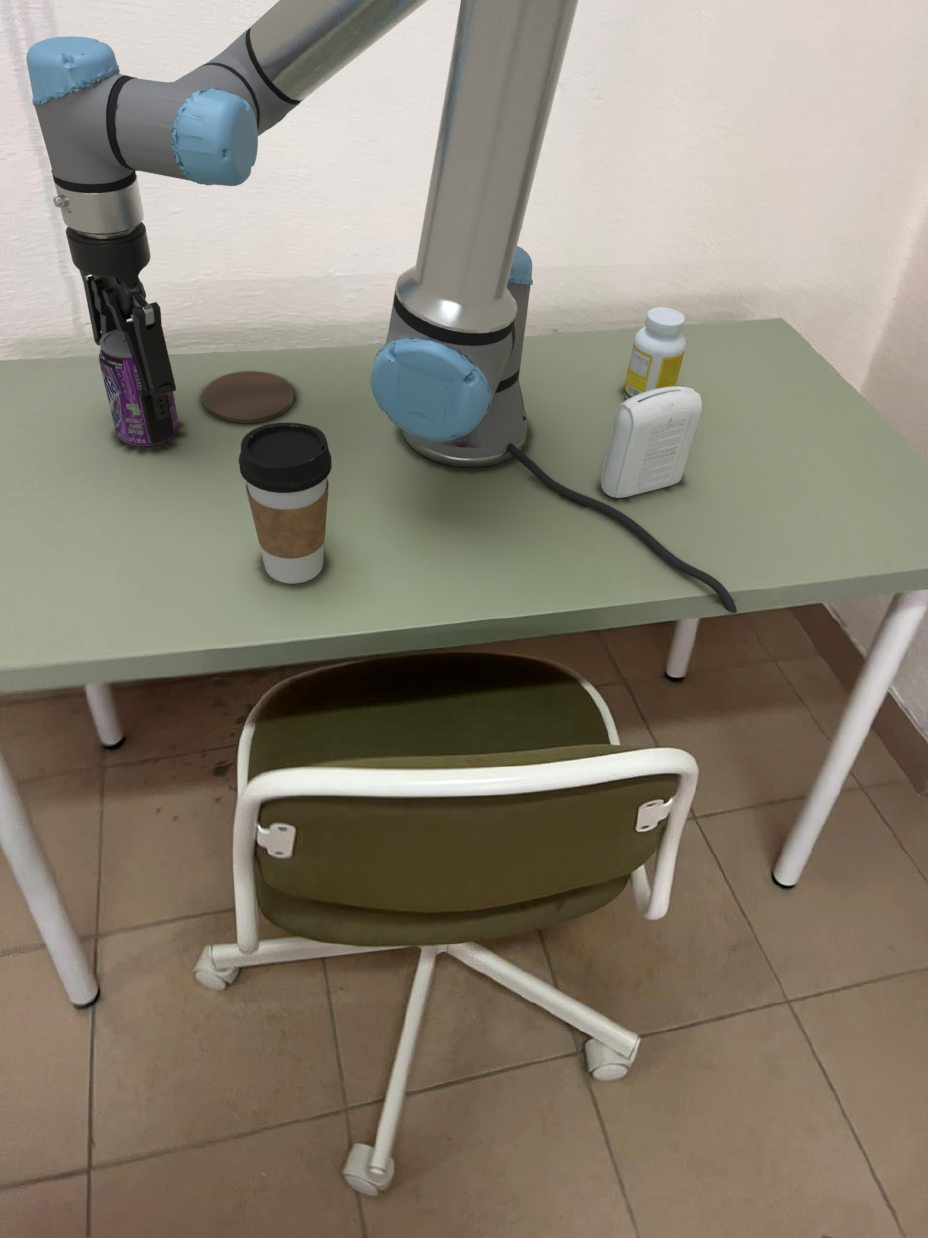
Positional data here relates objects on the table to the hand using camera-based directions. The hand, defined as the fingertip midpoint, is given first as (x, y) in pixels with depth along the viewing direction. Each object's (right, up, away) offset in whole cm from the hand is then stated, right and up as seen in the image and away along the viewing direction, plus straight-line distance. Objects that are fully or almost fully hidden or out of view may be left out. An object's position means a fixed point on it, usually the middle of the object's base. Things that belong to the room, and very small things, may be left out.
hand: (146, 422), depth 106 cm
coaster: (+10, +5, +8) cm, 14 cm away
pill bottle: (+61, +6, +15) cm, 63 cm away
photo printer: (+58, -7, +1) cm, 58 cm away
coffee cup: (+20, -17, -13) cm, 29 cm away
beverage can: (0, -1, +1) cm, 2 cm away
